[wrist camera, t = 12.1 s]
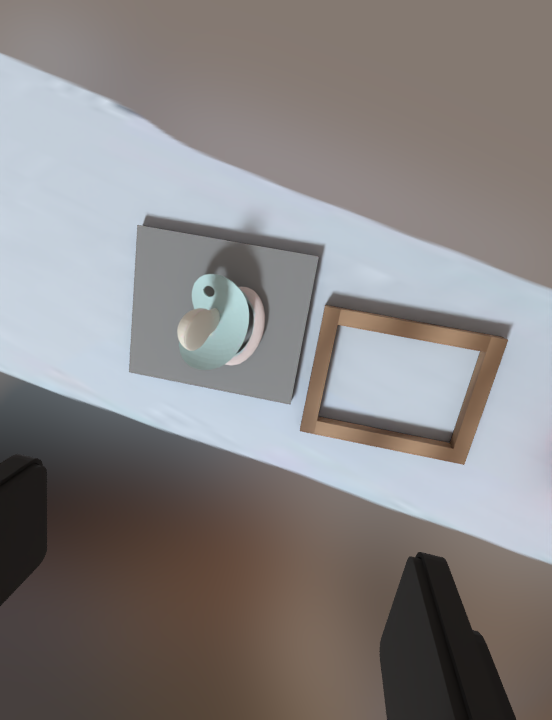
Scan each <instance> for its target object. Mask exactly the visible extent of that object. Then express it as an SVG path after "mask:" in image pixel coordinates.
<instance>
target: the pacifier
mask: <svg viewBox="0 0 552 720" xmlns="http://www.w3.org/2000/svg"><path fill="white" fill-rule="evenodd" d="M206 286H211V287H212V288H213V289H214V291H215V294H214V295H213V296H208V295H207V294H206V293H205V287H206ZM247 301H248V303H249V304H250V305H251V308H252V310H253V316H254V326H253V331H252V334H251V337H250V339H249V341H248V343H247V344H246V346H245V347H244V348H243V349H242V350H240V351H239V352H238V350H239V349H240V347H241V345H242V343H243V341H244V339H245V336H246V333H247V329H248V325H249V308H248V303H247ZM192 302H193V307H194V310H191V311H189V312H188V313H186V314H185V315H184V316H183V317H182V319H181V320H180V322H179V325H178V329H177V334H178V339H179V349H180V353H181V356H182V358H183V360H184V361H185V362H186V363H187V364H188V365H189V366H191V367H193V368H196V369H199V370H210V369H215V368H218V367H221V366H223V365H224V364H225V365H237V364H240V363H242V362H244V361H245V360H247V359H248V358H249V357H250V356H251V355H252V354H253V353H254V351H255V350H256V348H257V347H258V345H259V343H260V340H261V338H262V335H263V331H264V326H265V313H264V307H263V304H262V301H261V299H260V297H259V296H258V295H257V293H256V292H255V291H253V290H252V289H250V288H248V287H238V286H237V285H236V284H235V283H234V282H232V281H231V280H230V279H228V278H226V277H224V276H221V275H217V274H207V275H203V276H201V277H199V278H198V279H197V281H196V282H195V283H194V286H193V289H192Z"/></svg>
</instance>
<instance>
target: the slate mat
mask: <svg viewBox="0 0 552 720" xmlns="http://www.w3.org/2000/svg"><path fill="white" fill-rule="evenodd" d="M318 258H319V256H314V255H308V254H302V253H296V252H291V251H285V250H279V249H273V248H268V247H262V246H256V245H250V244H245V243H239V242H233V241H227V240H222V239H216V238H210V237H204V236H199V235H193V234H187V233H182V232H176V231H170V230H164V229H159V228H153V227H147V226H141V225H137V242H136V259H135V277H134V294H133V311H132V329H131V346H130V364H129V372H131V373H136V374H141V375H146V376H151V377H156V378H161V379H166V380H171V381H176V382H181V383H185V384H190V385H195V386H200V387H205V388H210V389H215V390H220V391H225V392H230V393H235V394H240V395H245V396H250V397H255V398H260V399H265V400H270V401H275V402H280V403H285V404H291V399H292V394H293V389H294V383H295V378H296V373H297V368H298V363H299V357H300V352H301V347H302V342H303V336H304V331H305V326H306V321H307V316H308V310H309V305H310V300H311V295H312V290H313V284H314V279H315V274H316V269H317V263H318ZM207 274H217V275H221V276H224V277H226V278H228V279H230V280H231V281H232V282H234V283H235V284H236V285H237V286H238V287H248V288H250V289H252V290H253V291H255V292H256V293H257V295H258V296H259V297H260V299H261V301H262V304H263V307H264V313H265V326H264V331H263V335H262V338H261V340H260V343H259V345H258V347H257V348H256V350H255V351H254V353H253V354H252V355H251V356H250V357H249V358H248V359H247V360H245V361H244V362H242V363H240V364H237V365H225V364H224V365H223V366H221V367H218V368H215V369H210V370H199V369H196V368H193V367H191V366H189V365H188V364H187V363H186V362H185V361H184V360H183V358H182V356H181V353H180V349H179V339H178V334H177V329H178V325H179V322H180V320H181V319H182V317H183V316H184V315H185V314H186V313H188V312H189V311H191V310H194V307H193V302H192V289H193V286H194V283H195V282H196V281H197V279H198V278H199V277H201V276H203V275H207ZM205 293H206V294H207V295H208V296H213V295H214V294H215V291H214V289H213V288H212V287H211V286H206V287H205ZM247 303H248V301H247ZM248 308H249V325H248V329H247V333H246V336H245V339H244V341H243V343H242V345H241V347H240V349H239V350H238V352H239V351H240V350H242V349H243V348H244V347H245V346H246V344H247V343H248V341H249V339H250V337H251V334H252V331H253V326H254V316H253V310H252V308H251V305H250V304H249V303H248Z"/></svg>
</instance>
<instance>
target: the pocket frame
mask: <svg viewBox="0 0 552 720" xmlns="http://www.w3.org/2000/svg"><path fill="white" fill-rule="evenodd" d="M338 325H342V326H347V327H353V328H358V329H363V330H369V331H374V332H380V333H385V334H390V335H396V336H401V337H407V338H412V339H417V340H423V341H428V342H434V343H439V344H444V345H450V346H455V347H461V348H466V349H471V350H477V351H480V354H479V357H478V360H477V363H476V366H475V369H474V372H473V375H472V378H471V381H470V384H469V387H468V390H467V393H466V396H465V399H464V402H463V405H462V408H461V411H460V414H459V417H458V420H457V423H456V426H455V429H454V432H453V435H452V437H451V440H450V443H448V442H443V441H438V440H433V439H428V438H423V437H418V436H413V435H408V434H403V433H398V432H393V431H388V430H383V429H378V428H373V427H368V426H364V425H359V424H354V423H349V422H344V421H339V420H334V419H329V418H324V417H319V416H318V413H319V409H320V404H321V400H322V395H323V390H324V386H325V381H326V376H327V372H328V367H329V363H330V358H331V353H332V349H333V344H334V339H335V335H336V330H337V326H338ZM507 342H508V340H507V339H505V338H503V337H499V336H494V335H488V334H483V333H477V332H472V331H467V330H461V329H456V328H450V327H445V326H439V325H434V324H428V323H423V322H417V321H412V320H406V319H401V318H395V317H390V316H384V315H379V314H373V313H368V312H362V311H357V310H351V309H346V308H340V307H335V306H329V305H325V308H324V313H323V318H322V323H321V328H320V333H319V338H318V343H317V348H316V352H315V357H314V362H313V367H312V372H311V377H310V382H309V387H308V392H307V397H306V402H305V406H304V411H303V416H302V421H301V426H300V431H302V432H307V433H312V434H316V435H321V436H326V437H331V438H336V439H341V440H346V441H351V442H356V443H360V444H365V445H370V446H375V447H380V448H385V449H390V450H395V451H400V452H404V453H409V454H414V455H419V456H424V457H429V458H434V459H439V460H444V461H448V462H453V463H458V464H463V465H464V464H465V461H466V458H467V455H468V453H469V450H470V447H471V444H472V441H473V438H474V436H475V433H476V430H477V427H478V424H479V421H480V418H481V416H482V413H483V410H484V407H485V404H486V401H487V399H488V396H489V393H490V390H491V387H492V384H493V382H494V379H495V376H496V373H497V370H498V367H499V365H500V362H501V359H502V356H503V353H504V350H505V348H506V345H507Z"/></svg>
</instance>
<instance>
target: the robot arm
mask: <svg viewBox="0 0 552 720" xmlns="http://www.w3.org/2000/svg"><path fill="white" fill-rule="evenodd" d="M46 551H47V472H46V468H45V467H44V466H43V464H42V461H41V460H39V459H37V458H32V457H29V456H24V455H20V454H16V455H13V456H11V457H10V458H8V459H6V460H5V461H3V462H2V463H0V606H1V605H2V604H3V603H4V601H6V599H8V597H9V596H10V595H11V594H12V593H13V592H14V591H15V590H16V589H17V588H18V587H19V586H20V585H21V584H22V583H23V582H24V581H25V580H26V578H27V577H28V576H29V575H30V574H31V573H32V572H33V571H34V570H35V569H36V568H37V567H38V566H39V565H40V563H41V562H42V561H43V559H44V557H45V555H46ZM380 663H381V671H382V679H383V689H384V697H385V705H386V714H387V720H516V717H515V715H514V712H513V710H512V707H511V705H510V703H509V700H508V697H507V695H506V693H505V690H504V687H503V685H502V682H501V680H500V677H499V675H498V672H497V669H496V667H495V664H494V662H493V659H492V657H491V654H490V652H489V649H488V647H487V644H486V643H485V640H484V638H483V636H482V635H481V634H480V633H479V632H478V631H474V630H472V628H471V625H470V623H469V620H468V617H467V615H466V612H465V609H464V606H463V604H462V601H461V599H460V596H459V593H458V591H457V588H456V585H455V582H454V580H453V577H452V574H451V572H450V569H449V566H448V564H447V562H446V560H445V559H444V558H443V557H438V556H434V555H430V554H426V553H422V552H418V554H417V555H416V557H409V558H408V560H407V562H406V565H405V568H404V571H403V574H402V577H401V580H400V584H399V587H398V589H397V592H396V595H395V598H394V601H393V604H392V608H391V610H390V613H389V616H388V620H387V622H386V625H385V629H384V631H383V635H382V638H381V642H380Z"/></svg>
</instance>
